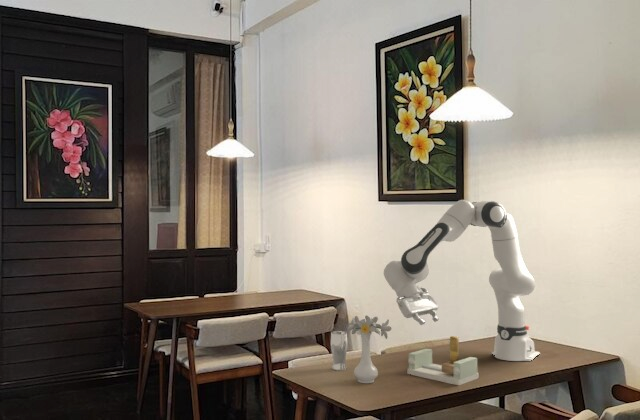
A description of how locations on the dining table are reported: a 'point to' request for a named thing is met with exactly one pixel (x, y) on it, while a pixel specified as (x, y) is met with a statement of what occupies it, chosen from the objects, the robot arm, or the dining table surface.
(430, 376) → the track
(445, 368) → the carriage
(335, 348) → the beer glass
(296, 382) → the dining table surface
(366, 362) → the flower vase
